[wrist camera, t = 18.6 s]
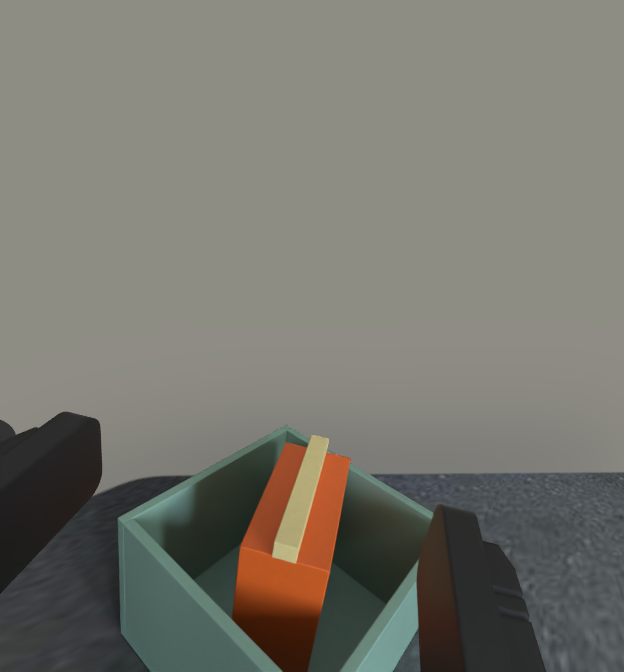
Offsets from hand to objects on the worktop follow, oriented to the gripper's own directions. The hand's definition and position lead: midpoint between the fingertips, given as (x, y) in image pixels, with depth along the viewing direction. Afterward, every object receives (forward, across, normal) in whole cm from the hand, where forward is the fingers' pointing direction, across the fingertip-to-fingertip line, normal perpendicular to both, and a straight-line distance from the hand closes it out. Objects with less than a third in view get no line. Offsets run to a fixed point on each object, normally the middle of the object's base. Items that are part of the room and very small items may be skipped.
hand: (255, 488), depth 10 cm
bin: (+12, 0, +22) cm, 25 cm away
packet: (+12, 0, +22) cm, 24 cm away
